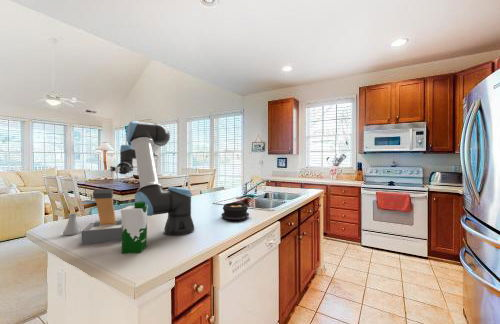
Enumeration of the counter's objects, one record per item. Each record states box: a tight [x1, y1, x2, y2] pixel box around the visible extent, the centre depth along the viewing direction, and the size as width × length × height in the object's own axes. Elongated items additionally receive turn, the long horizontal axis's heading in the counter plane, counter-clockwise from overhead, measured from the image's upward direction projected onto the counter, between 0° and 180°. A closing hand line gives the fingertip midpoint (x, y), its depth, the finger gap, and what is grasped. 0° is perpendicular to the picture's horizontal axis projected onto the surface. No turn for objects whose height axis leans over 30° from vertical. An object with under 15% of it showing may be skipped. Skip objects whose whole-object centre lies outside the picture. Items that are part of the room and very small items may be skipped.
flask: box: [62, 212, 82, 236], centre depth 115 cm, size 7×7×10 cm
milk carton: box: [120, 201, 148, 255], centre depth 94 cm, size 9×9×20 cm
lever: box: [92, 188, 117, 225], centre depth 104 cm, size 3×7×20 cm
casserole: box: [220, 202, 250, 221], centre depth 150 cm, size 25×19×8 cm
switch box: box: [80, 218, 122, 246], centre depth 110 cm, size 14×18×8 cm
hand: (116, 169), depth 126 cm, fingers closed
